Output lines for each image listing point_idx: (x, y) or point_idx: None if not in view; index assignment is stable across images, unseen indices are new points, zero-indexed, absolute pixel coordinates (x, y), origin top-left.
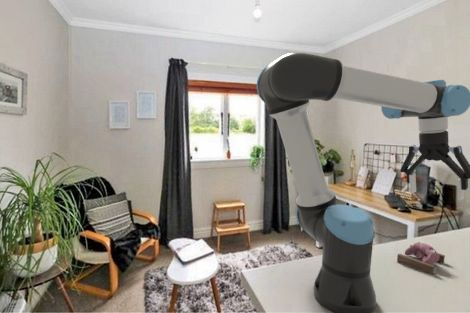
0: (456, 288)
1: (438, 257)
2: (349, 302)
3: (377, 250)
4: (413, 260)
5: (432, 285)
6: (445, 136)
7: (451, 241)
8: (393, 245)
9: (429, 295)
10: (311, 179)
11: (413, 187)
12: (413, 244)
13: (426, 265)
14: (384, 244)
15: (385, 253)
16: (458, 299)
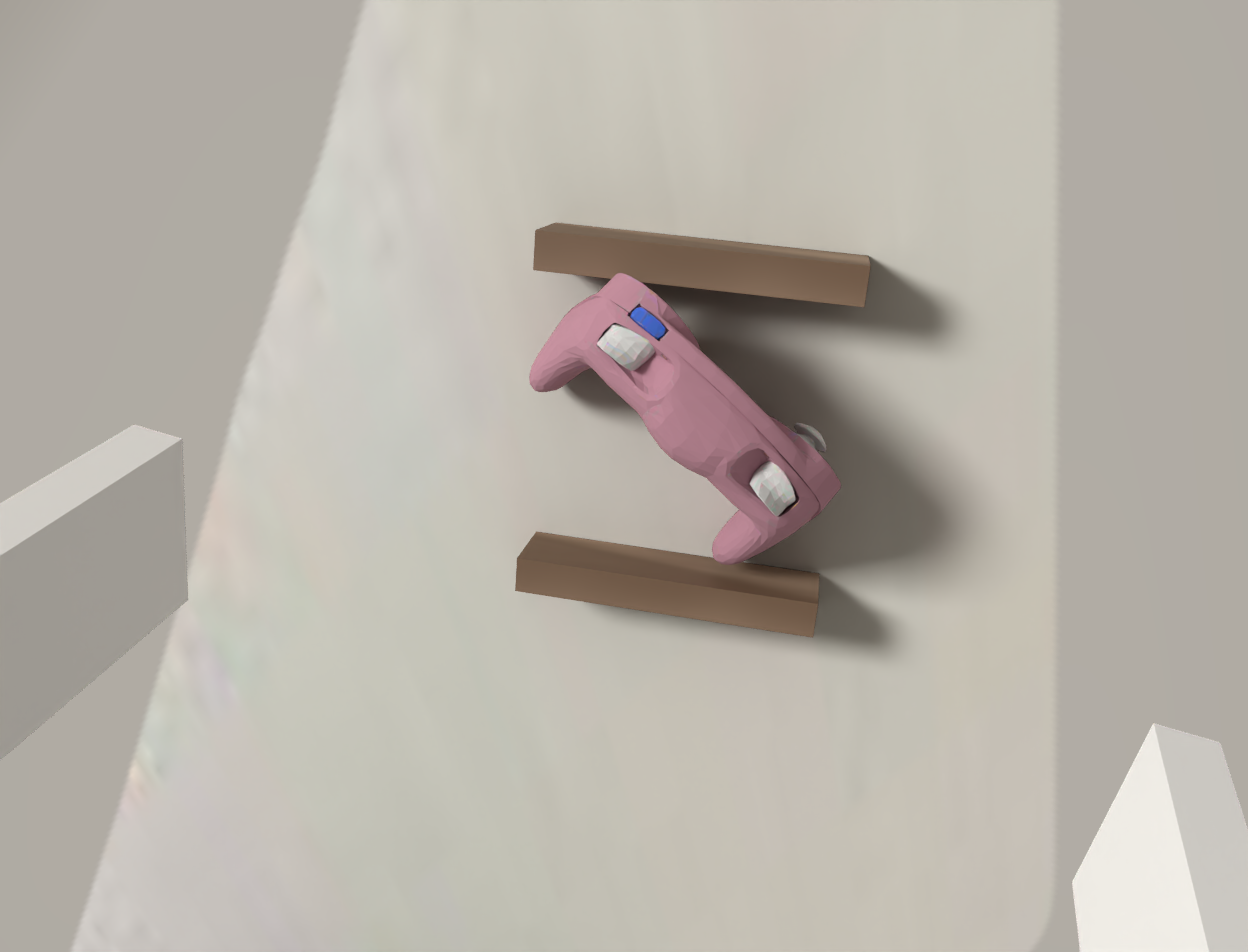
0: (995, 715)
1: (832, 497)
2: None
3: (327, 439)
4: (652, 610)
5: (842, 780)
6: None
7: None
8: (380, 183)
9: (845, 923)
10: None
11: (91, 621)
12: (569, 350)
13: (760, 623)
14: (309, 230)
15: (402, 454)
16: (1012, 862)
